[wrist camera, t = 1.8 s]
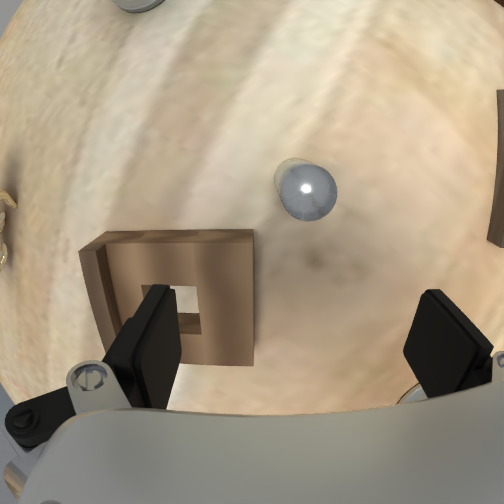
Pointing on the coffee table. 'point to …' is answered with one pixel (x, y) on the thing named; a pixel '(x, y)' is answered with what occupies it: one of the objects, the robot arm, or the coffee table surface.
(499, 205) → the book frame
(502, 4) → the brown drum
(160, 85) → the coffee table surface
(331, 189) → the blue-grey domed cylinder
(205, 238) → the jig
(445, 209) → the coffee table surface
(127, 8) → the travel mug
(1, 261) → the unicorn
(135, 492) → the robot arm
